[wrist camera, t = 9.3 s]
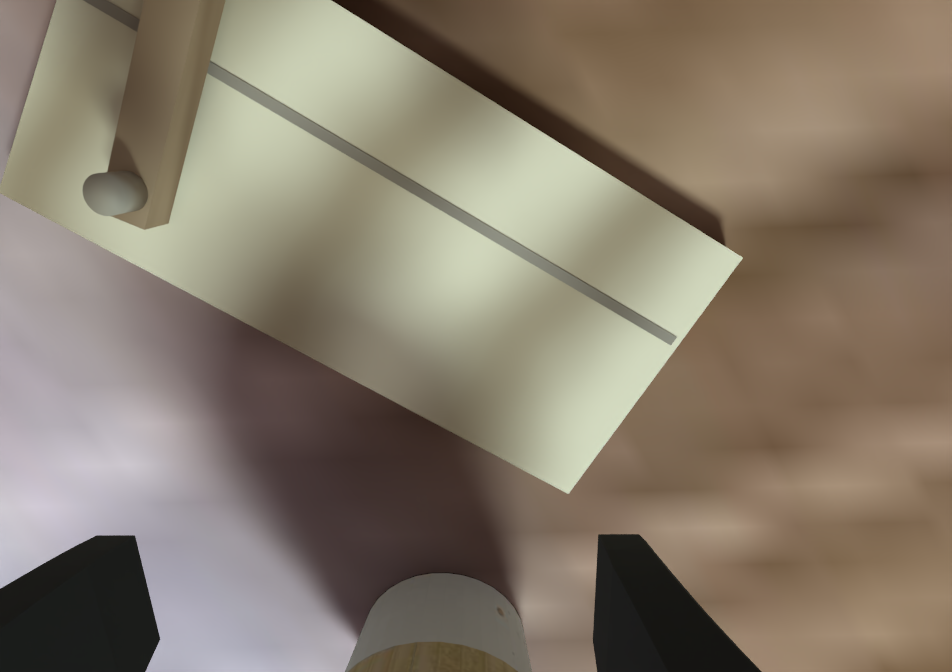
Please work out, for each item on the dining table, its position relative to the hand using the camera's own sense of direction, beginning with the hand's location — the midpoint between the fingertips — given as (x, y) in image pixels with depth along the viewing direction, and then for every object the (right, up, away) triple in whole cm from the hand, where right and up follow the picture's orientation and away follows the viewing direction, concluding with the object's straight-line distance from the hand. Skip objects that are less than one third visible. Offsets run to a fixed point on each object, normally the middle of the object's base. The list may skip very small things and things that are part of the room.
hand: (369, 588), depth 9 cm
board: (-1, +7, +8) cm, 11 cm away
